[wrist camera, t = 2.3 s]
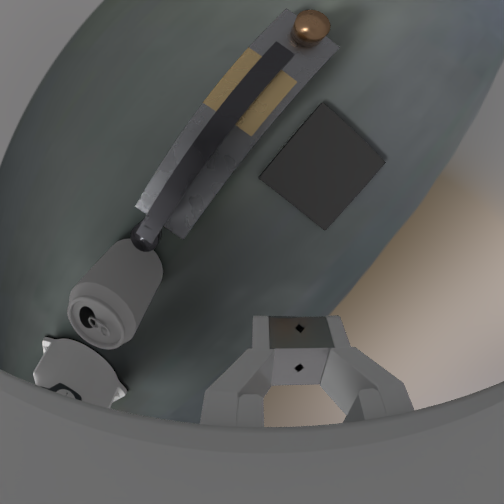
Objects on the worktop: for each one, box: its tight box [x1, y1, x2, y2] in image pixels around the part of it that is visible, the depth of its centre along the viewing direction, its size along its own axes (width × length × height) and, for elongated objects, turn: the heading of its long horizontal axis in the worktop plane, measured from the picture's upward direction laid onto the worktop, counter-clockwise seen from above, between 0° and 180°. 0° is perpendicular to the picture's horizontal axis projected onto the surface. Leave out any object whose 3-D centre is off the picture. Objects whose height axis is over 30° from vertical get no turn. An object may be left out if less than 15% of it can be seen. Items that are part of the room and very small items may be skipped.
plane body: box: [135, 9, 340, 240], centre depth 22 cm, size 24×6×7 cm, turn 142°
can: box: [67, 239, 163, 350], centre depth 28 cm, size 8×8×12 cm
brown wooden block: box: [203, 47, 297, 137], centre depth 20 cm, size 6×4×4 cm
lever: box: [131, 41, 295, 252], centre depth 19 cm, size 19×2×1 cm, turn 142°
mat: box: [259, 103, 386, 230], centre depth 27 cm, size 10×9×1 cm
